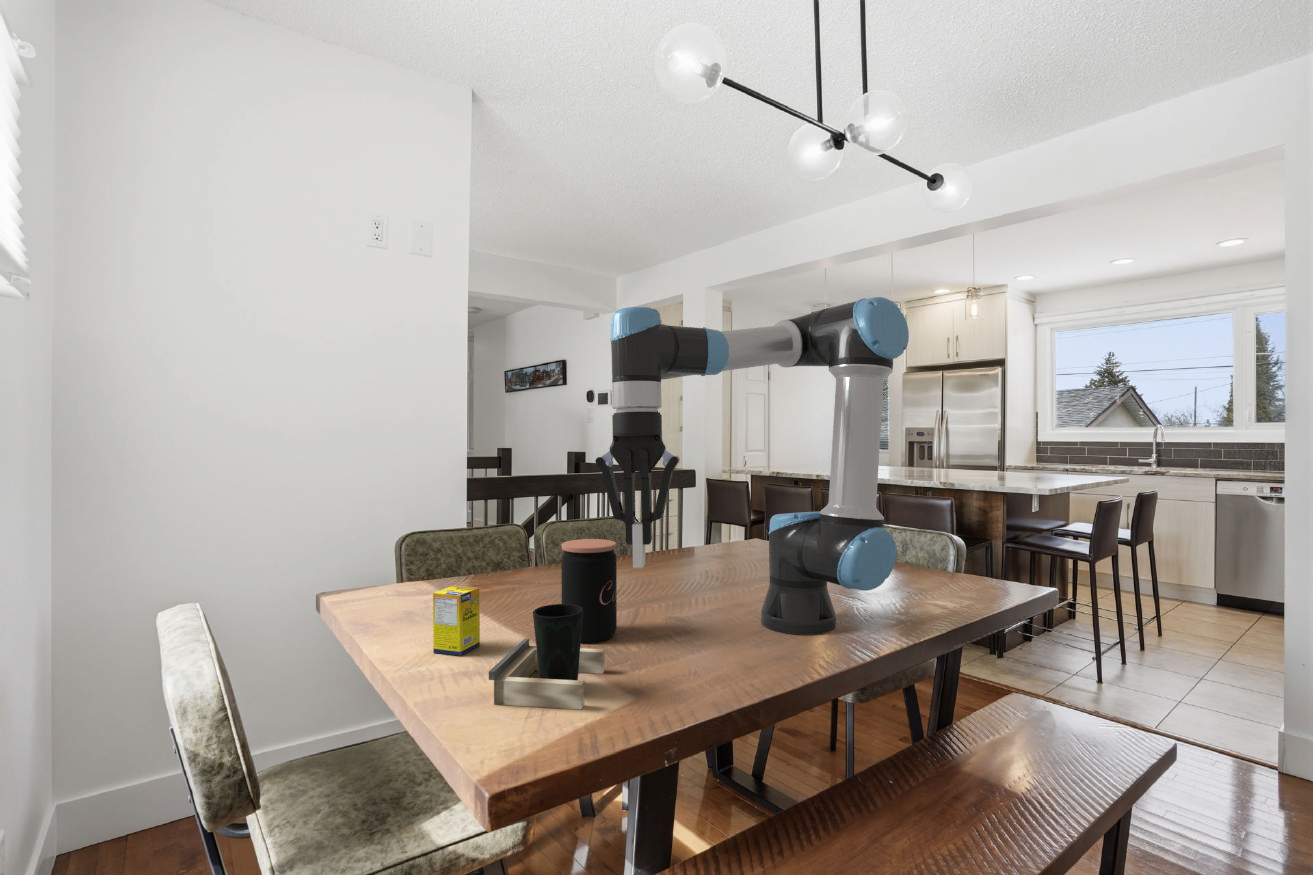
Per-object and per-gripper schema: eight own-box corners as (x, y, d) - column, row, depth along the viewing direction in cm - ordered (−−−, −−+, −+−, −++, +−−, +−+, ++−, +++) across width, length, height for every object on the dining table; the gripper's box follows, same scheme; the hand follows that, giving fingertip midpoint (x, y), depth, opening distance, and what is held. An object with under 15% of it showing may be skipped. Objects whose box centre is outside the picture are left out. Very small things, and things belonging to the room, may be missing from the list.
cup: (536, 679, 99) (535, 604, 99) (584, 677, 100) (583, 602, 100) (531, 699, 92) (530, 618, 92) (583, 697, 92) (582, 616, 92)
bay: (604, 670, 103) (604, 641, 103) (581, 709, 88) (581, 676, 88) (524, 666, 105) (524, 638, 105) (488, 703, 90) (488, 671, 90)
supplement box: (480, 646, 116) (480, 587, 116) (460, 656, 110) (460, 594, 110) (453, 642, 117) (453, 584, 117) (432, 653, 112) (432, 592, 112)
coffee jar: (608, 646, 115) (607, 548, 115) (553, 642, 117) (553, 547, 117) (622, 628, 126) (622, 539, 126) (572, 625, 128) (572, 538, 128)
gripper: (682, 411, 98) (684, 561, 98) (600, 412, 100) (602, 560, 100) (676, 409, 90) (679, 571, 90) (589, 411, 92) (591, 570, 92)
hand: (639, 565), depth 95 cm, fingers closed
